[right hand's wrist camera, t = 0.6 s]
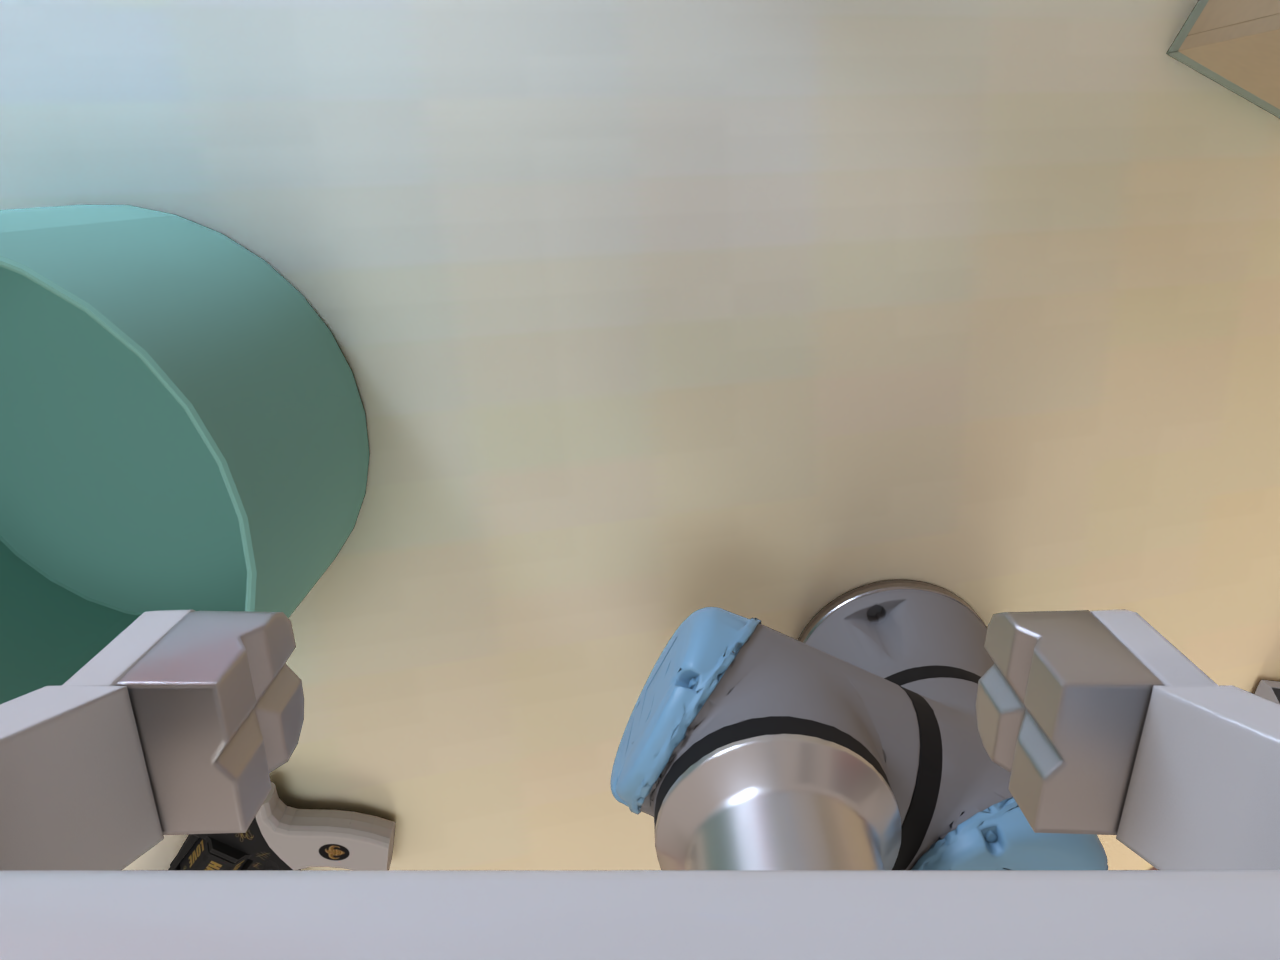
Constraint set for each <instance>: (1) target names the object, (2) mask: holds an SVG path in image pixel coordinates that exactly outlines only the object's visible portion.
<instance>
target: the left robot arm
mask: <svg viewBox="0 0 1280 960" xmlns="http://www.w3.org/2000/svg"><path fill="white" fill-rule="evenodd" d="M986 633H987V627H986V625H985V624H984V623H983V621H982V620H981V619H980V617H979V616H978V615H977V614H976V612H975V611H974V610H973V609H972V608H971V607H970V606H969V605H968V604H967V603H966V602H965V601H963V600H962V599H961V598H960V597H958V596H956V595H955V594H953V593H952V592H950V591H948V590H946V589H944V588H941V587H938V586H936V585H932V584H929V583H925V582H919V581H912V580H890V581H882V582H876V583H872V584H868V585H864V586H862V587H859V588H856V589H854V590H851V591H849V592H847V593H845V594H843V595H841V596H840V597H838V598H836V599H835V600H833V601H832V602H830V603H829V604H828V605H826V606H825V607H824V608H823V609H822V610H820V611H819V612H818V613H817V614H816V615H815V616H814V617H813V618H812V620H811V621H810V622H809V623H808V625H807V626H806V627H805V629H804V630H803V632H802V633H801V635H800V637H799V639H798V640H796V639H793V638H791V637H789V636H787V635H784V634H782V633H780V632H778V631H775V630H773V629H771V628H769V627H766V626H764V625H762V624H761V621H760V620H759V619H757V618H751V619H747V618H745V617H742V616H739V615H736V614H734V613H731V612H729V611H726V610H723V609H721V608H717V607H706V608H702V609H699V610H697V611H695V612H694V613H692V614H691V615H690V616H689V617H688V618H687V619H686V620H685V621H684V622H683V623H682V624H681V625H680V626H679V627H678V629H677V630H676V631H675V633H674V634H673V636H672V637H671V639H670V640H669V642H668V644H667V645H666V647H665V648H664V650H663V652H662V653H661V655H660V657H659V659H658V660H657V662H656V664H655V666H654V668H653V670H652V672H651V673H650V675H649V677H648V679H647V682H646V684H645V686H644V688H643V690H642V692H641V694H640V696H639V698H638V700H637V703H636V705H635V707H634V709H633V712H632V714H631V716H630V719H629V721H628V724H627V726H626V728H625V731H624V734H623V737H622V739H621V742H620V745H619V748H618V751H617V754H616V758H615V761H614V765H613V769H612V774H611V791H612V794H613V796H614V797H615V799H616V800H617V801H619V802H620V803H623V804H624V805H626V806H628V807H629V809H630V811H632V812H633V813H636V814H639V813H640V812H641V811H642V812H644V813H647V814H649V815H651V816H653V817H654V823H655V847H656V852H657V857H658V861H659V864H660V867H661V870H1108V865H1107V856H1106V854H1105V851H1104V848H1103V846H1102V844H1101V842H1100V840H1099V838H1098V836H1097V834H1063V833H1035V832H1034V831H1033V829H1032V827H1031V826H1030V824H1029V822H1028V821H1027V819H1026V817H1025V816H1024V814H1023V812H1022V811H1021V809H1020V807H1019V806H1018V804H1017V802H1016V801H1015V799H1014V798H1013V796H1012V794H1011V793H1010V791H1009V789H1008V788H1009V782H1010V776H1011V773H1010V772H1008V771H1007V770H1005V769H1004V768H1002V767H1000V766H999V765H997V764H996V763H994V762H992V760H991V758H990V757H989V755H988V753H987V751H986V750H985V748H984V746H983V743H982V740H981V737H980V734H979V731H978V725H977V715H976V698H977V690H978V681H979V679H980V678H981V677H982V676H983V675H984V674H985V673H986V672H987V671H988V670H989V669H990V668H991V667H992V666H993V665H994V661H993V660H992V658H991V657H990V655H989V653H988V652H987V650H986V649H985V647H984V644H985V638H986Z"/></svg>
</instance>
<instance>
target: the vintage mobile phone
mask: <svg viewBox="0 0 1280 960" xmlns="http://www.w3.org/2000/svg"><path fill="white" fill-rule="evenodd" d="M1254 694H1255V695H1257V696H1260V697H1262V698H1265V699H1267V700H1270V701H1272V702H1275V703H1277V704H1280V682H1277V681H1268V680H1261V681H1260V682H1259V684H1258V687H1257V689H1256V691H1255V693H1254Z"/></svg>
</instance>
